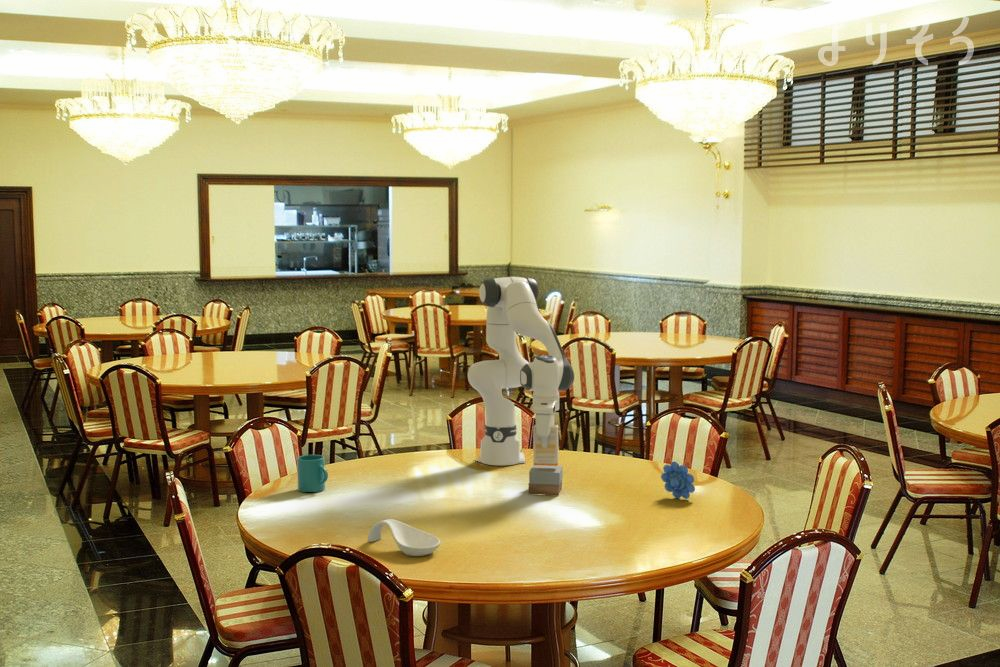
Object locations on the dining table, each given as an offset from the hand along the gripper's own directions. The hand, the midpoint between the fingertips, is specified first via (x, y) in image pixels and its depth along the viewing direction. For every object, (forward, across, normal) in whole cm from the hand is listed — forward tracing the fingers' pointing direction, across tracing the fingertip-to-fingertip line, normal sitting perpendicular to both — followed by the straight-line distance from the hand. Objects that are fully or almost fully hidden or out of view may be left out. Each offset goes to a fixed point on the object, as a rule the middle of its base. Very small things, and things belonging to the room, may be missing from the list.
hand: (545, 445), depth 334 cm
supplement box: (+7, 0, 0) cm, 7 cm away
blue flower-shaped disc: (+16, +4, +43) cm, 46 cm away
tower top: (+12, 0, 0) cm, 12 cm away
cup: (+16, +11, -77) cm, 79 cm away
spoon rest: (+16, +68, -31) cm, 77 cm away
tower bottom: (+16, 0, 0) cm, 16 cm away
